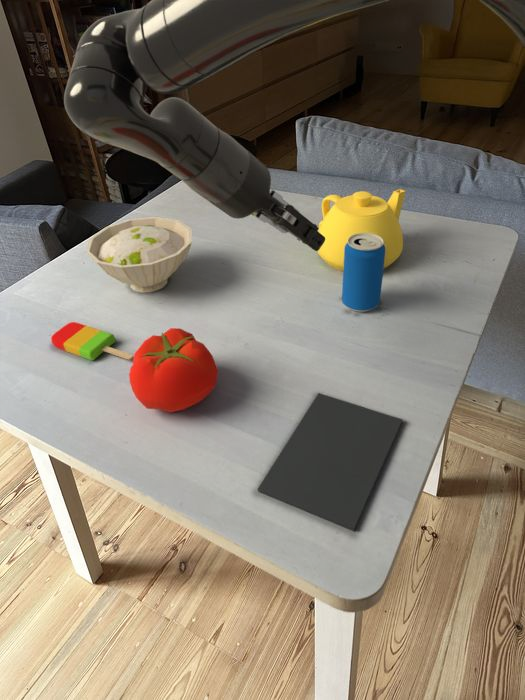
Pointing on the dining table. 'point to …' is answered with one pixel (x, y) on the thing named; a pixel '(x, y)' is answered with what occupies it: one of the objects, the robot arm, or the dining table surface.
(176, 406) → the tomato
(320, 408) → the place mat
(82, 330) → the popsicle
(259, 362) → the dining table surface
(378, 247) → the beverage can
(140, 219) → the bowl
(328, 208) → the teapot
